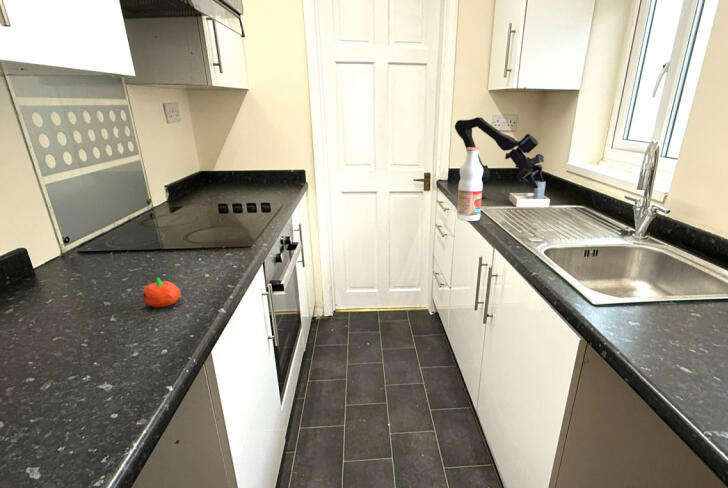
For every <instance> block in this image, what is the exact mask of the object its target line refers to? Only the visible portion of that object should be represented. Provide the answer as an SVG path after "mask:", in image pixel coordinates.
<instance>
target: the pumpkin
mask: <svg viewBox="0 0 728 488" xmlns="http://www.w3.org/2000/svg"><path fill="white" fill-rule="evenodd" d="M181 294H182V292H181V289H180V288H179V287H178V286H177V285H176V284H175V283H173V282H171V281H167V280H161V278H160V277H156V282H153V283H150V284H147V285H146V286H145V287H144V288H143V290H142V297H143V301H144V302H145V303H146V304H147V305H149V306H151V307H153V308H164V307H167V306H168V307H169V306H171V305H173V304H174V303H175V304H176V302H177V301H178V300H179V298H180V296H181Z"/></svg>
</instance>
